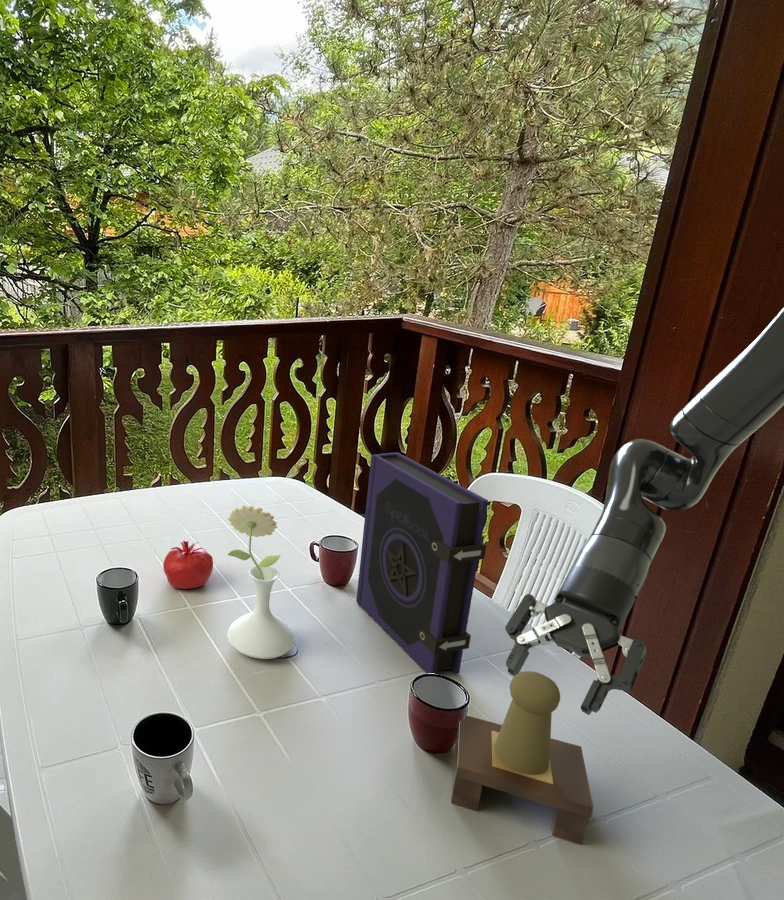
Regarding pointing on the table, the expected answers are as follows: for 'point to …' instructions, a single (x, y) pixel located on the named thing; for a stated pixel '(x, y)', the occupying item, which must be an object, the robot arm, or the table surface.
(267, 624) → the flower in vase
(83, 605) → the table surface
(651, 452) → the robot arm
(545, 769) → the cork
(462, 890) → the table surface
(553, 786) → the shelf
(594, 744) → the table surface
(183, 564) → the pomegranate
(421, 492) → the book
